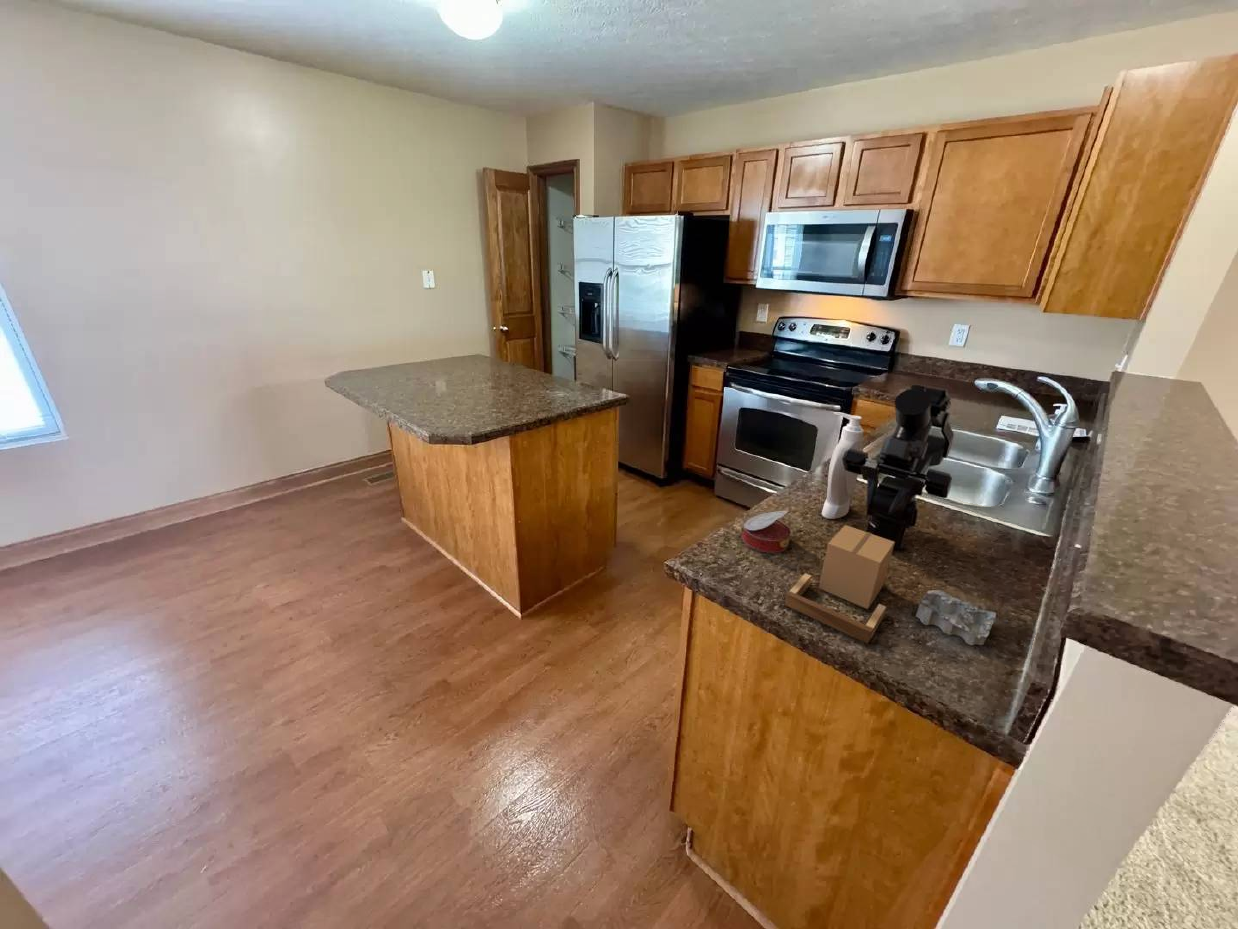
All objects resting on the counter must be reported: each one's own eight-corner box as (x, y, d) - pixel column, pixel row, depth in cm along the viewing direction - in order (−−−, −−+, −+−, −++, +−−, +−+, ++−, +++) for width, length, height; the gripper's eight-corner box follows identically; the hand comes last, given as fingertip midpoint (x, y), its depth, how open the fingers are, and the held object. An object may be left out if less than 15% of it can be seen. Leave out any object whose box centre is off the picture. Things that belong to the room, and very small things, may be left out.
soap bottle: (827, 496, 132) (846, 405, 123) (857, 507, 127) (879, 413, 117) (802, 512, 124) (820, 416, 114) (833, 524, 119) (855, 425, 109)
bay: (803, 583, 98) (805, 573, 97) (882, 618, 90) (886, 606, 89) (784, 605, 92) (786, 594, 91) (867, 644, 84) (871, 632, 83)
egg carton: (910, 618, 90) (916, 599, 88) (925, 600, 94) (931, 582, 93) (980, 652, 83) (988, 632, 81) (993, 630, 87) (1000, 611, 86)
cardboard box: (835, 567, 103) (845, 524, 99) (882, 586, 98) (895, 541, 94) (818, 588, 97) (828, 543, 93) (867, 609, 92) (880, 562, 88)
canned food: (759, 570, 110) (746, 539, 104) (741, 541, 118) (727, 511, 113) (807, 547, 109) (796, 514, 104) (785, 519, 117) (774, 488, 112)
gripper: (855, 409, 100) (823, 478, 96) (966, 432, 89) (935, 511, 85) (859, 437, 108) (831, 501, 105) (961, 461, 97) (932, 533, 94)
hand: (878, 510), depth 97 cm, fingers open, 4 cm apart
